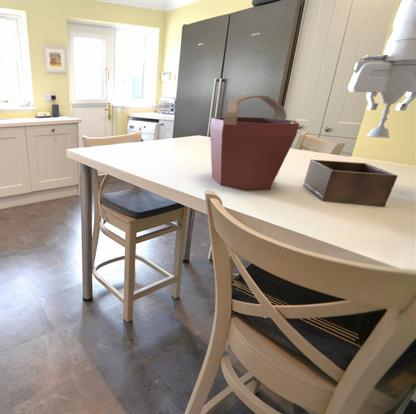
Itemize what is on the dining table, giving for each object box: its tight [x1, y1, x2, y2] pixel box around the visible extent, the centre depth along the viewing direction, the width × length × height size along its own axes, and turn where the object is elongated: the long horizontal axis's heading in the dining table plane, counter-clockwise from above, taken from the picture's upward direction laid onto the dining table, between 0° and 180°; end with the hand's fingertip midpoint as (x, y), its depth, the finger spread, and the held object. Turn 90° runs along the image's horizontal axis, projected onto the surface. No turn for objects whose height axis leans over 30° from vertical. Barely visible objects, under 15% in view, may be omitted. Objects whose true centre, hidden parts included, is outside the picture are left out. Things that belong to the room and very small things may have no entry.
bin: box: [303, 159, 398, 207], centre depth 76 cm, size 14×14×8 cm
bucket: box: [209, 95, 300, 192], centre depth 84 cm, size 24×22×25 cm
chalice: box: [365, 66, 416, 139], centre depth 78 cm, size 7×7×18 cm
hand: (385, 110), depth 79 cm, fingers closed on chalice, 5 cm apart
